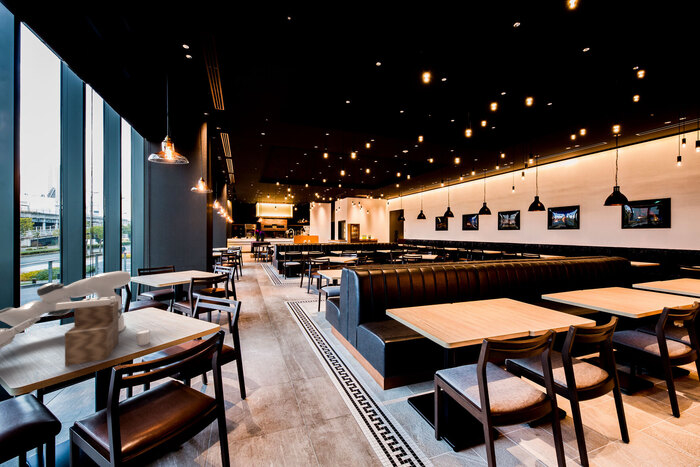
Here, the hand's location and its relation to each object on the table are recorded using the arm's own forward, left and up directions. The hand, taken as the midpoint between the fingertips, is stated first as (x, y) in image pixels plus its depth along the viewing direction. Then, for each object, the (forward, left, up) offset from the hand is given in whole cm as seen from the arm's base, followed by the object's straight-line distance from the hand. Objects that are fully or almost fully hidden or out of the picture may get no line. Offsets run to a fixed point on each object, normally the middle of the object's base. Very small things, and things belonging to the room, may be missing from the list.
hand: (34, 320), depth 145 cm
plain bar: (+14, +14, +5) cm, 20 cm away
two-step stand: (+20, +14, -20) cm, 32 cm away
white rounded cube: (+32, +32, -20) cm, 50 cm away
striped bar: (+14, +21, +5) cm, 25 cm away
